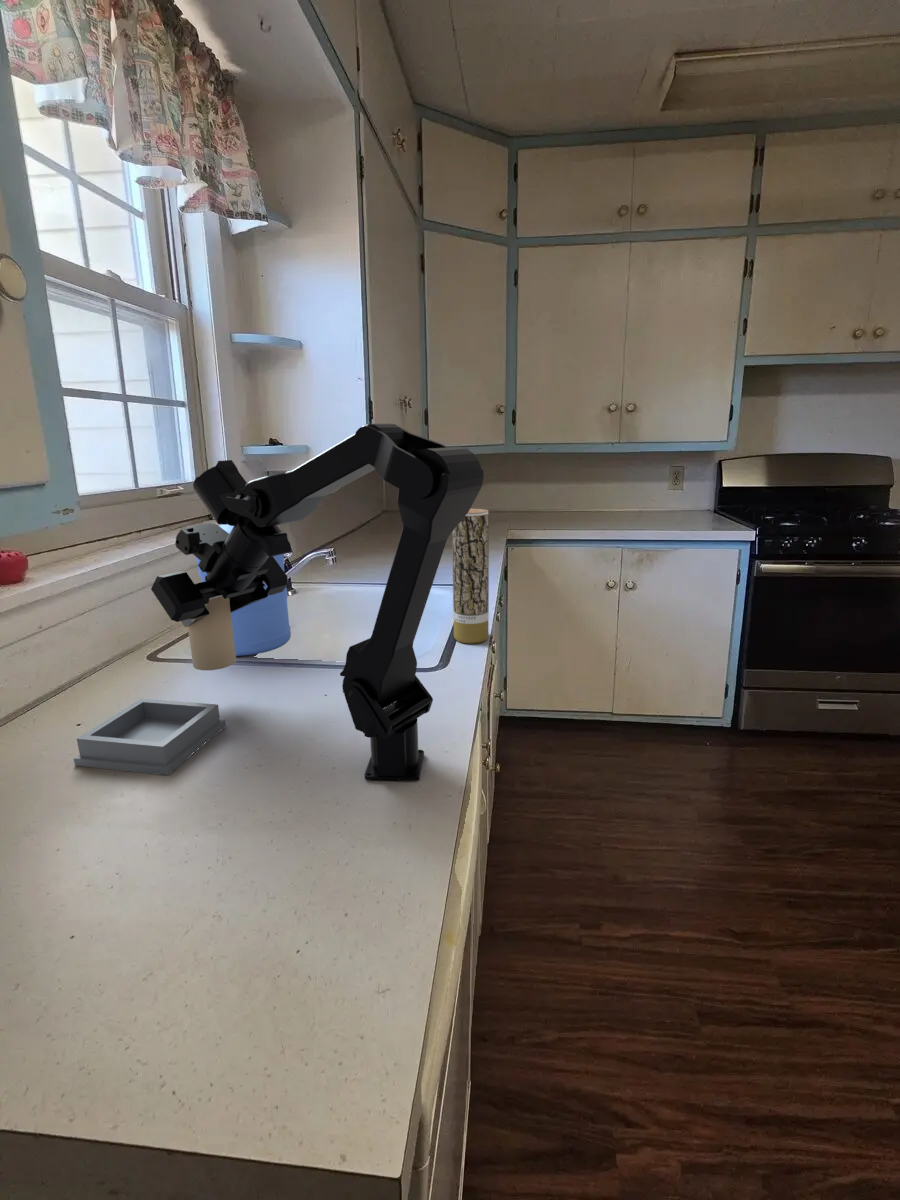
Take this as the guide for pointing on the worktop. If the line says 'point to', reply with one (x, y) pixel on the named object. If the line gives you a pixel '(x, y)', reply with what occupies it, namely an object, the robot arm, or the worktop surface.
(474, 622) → the paper tube
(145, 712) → the grey rimmed tray
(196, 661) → the beige knobbed cylinder
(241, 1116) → the worktop surface
